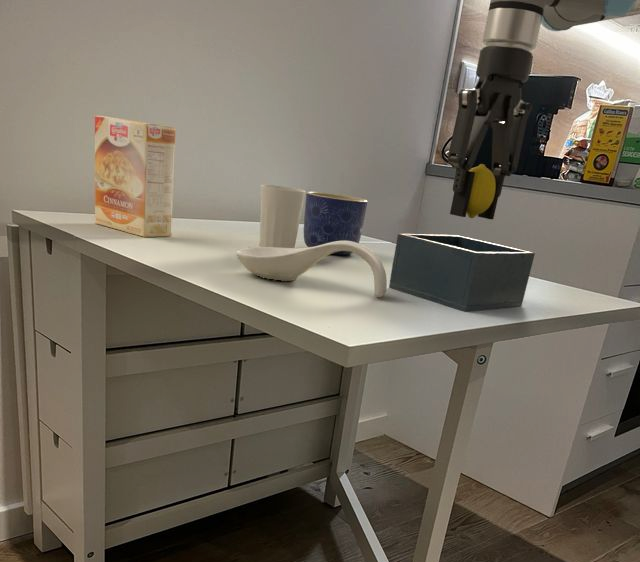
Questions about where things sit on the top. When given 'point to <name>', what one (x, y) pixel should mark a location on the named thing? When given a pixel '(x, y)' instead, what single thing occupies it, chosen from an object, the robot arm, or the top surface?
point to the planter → (333, 219)
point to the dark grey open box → (460, 271)
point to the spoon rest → (306, 261)
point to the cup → (280, 215)
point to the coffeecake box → (134, 176)
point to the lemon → (481, 191)
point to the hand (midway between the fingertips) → (471, 216)
